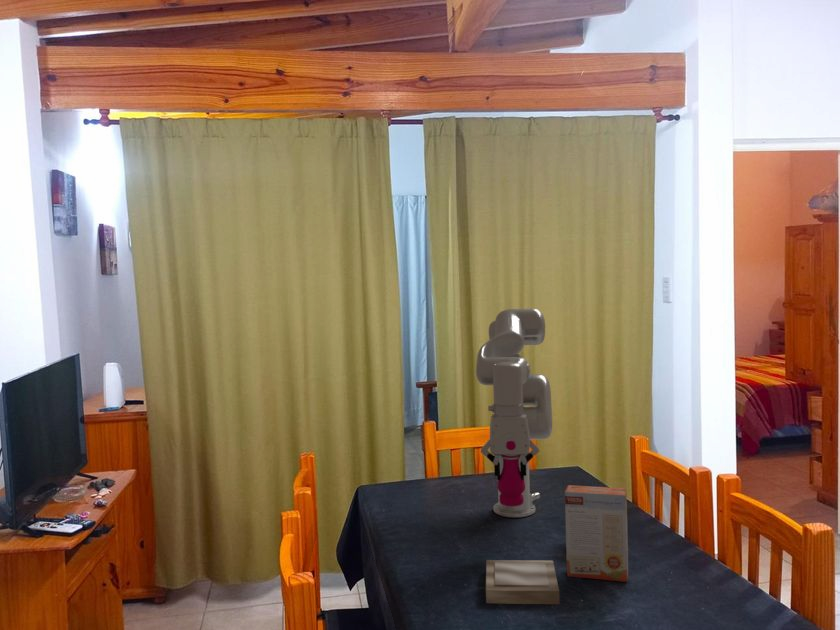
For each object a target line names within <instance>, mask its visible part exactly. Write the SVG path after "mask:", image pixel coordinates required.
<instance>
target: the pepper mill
mask: <svg viewBox="0 0 840 630" xmlns="http://www.w3.org/2000/svg"><path fill="white" fill-rule="evenodd" d="M506 444H507V445H506V447H507V449H509V450H514V449H515V448H516V444H515V442H514V441H508V442H507V443H506ZM501 457H502V458H503V470H502V473H501V475H500V480H497V485H496V486H497V491H498V490H499V491H500V492H501V494H500V496H499V500H500V503H501V504H502V505H505V506H519V505H522V504H523V502H524V496H523V495H522V493H523V492H524V490H525V481H524V480H522V479H521V472H520V469H519V458H520V455H501Z"/></svg>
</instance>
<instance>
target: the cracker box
mask: <svg viewBox="0 0 840 630" xmlns="http://www.w3.org/2000/svg"><path fill="white" fill-rule="evenodd" d="M627 497H628V496H627V488H623V487H609V486H608V487H606V486H589V485H587V486H586V485H573V484H572V485H571V484H570V485H569V484H568V485H567V487H566V489H565V492H564V504H565V505H564V508H565V509H564V510H565V513H564V514H565V516H564V518H565V549H566V555H565V556H566V576H567V577H571V578H572V577H574V578H581V579H593V580H600V581H601V580H605V581H611V582H612V581H614V582H620V583H621V582H623V583H626V582H628V578H629V544H628V543H629V542H628V541H629V540H628V539H629V538H628V537H629V535H628V505H627V504H628V503H627V501H628V500H627Z"/></svg>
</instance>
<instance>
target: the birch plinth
mask: <svg viewBox="0 0 840 630" xmlns="http://www.w3.org/2000/svg"><path fill="white" fill-rule="evenodd" d="M485 563H486V564H485V566H486V569H485V570H486V571H485V572H486V574H485V598H486V599H485V602H486V604H504V605H506V604H509V605H511V604H513V605H516V604H517V605H519V604H520V605H560V589H559V584H558V578H557V574H556V569H555V564H554V560H540V559H539V560H537V559H536V560H534V559H533V560H532V559H531V560H522V559H521V560H520V559H519V560H518V559H517V560H516V559H515V560H513V559H511V560H509V559H506V560H505V559H498V560H497V559H494V560H493V559H486V562H485Z"/></svg>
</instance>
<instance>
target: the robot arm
mask: <svg viewBox="0 0 840 630" xmlns="http://www.w3.org/2000/svg"><path fill="white" fill-rule="evenodd" d="M544 316H545V315H544V314H543V313H542V311H541V310H539V309H537V308H509V309H504V310H502V311H499V313H498V314H497V316H496V317H495V320H493V321H491V323H490V324H489V326H488V339H489V340H487V341H486V342H485V343H484V344H483V345H481V346H480V348H479V349H478V352H477V357H476V364H475V365H476V367H475V373H476V374H475V375H476V379H477V381H478V382H479V384H481V385H483V386H492V387H493V389H492V390H493V404H492V405H488V412H492V413H493V414H491V417H490V422H489V439H488V440H487V442H485V444H484V445H483V446H482V447H481V449H480V453H481V454H482V455H483V456H485V457H486V458H487V459H488V460H489V461H490V462H492V464H493V465H494V467H493V468H494V477H497V481H498V480H500V475H501V473H502V470H503V458H502V457H501V455H520V458H519V469H520V472H521V479H522V480H524V481H525V490H524V492H523V493H522V495H523V496H524V502H523V504H522V505H519V506H505V505H502V504H501V503H500V500H499V496H500V494H501V492H500V491H499V490H498V489H497V496H498V502H496V503H495V504H494V505H493V506H492V507H493V512H494V513H495V514H497V515H499V516H501V517H504V518H505V517H506V518H524V517H528V516H532V515H533V514H535V513H536V505H535V504H533V502H534V500H538V499H540V498H541V495H540V493H539V492H538V491H536V492H533V493H531V489H530V483H531V481H530V461H531V460H532V459H533V457H534V456H536V455H537V454H538V453H539V452H540V449H539V447H538V446H537V445H536V444H535V443H534V442H533V441H532V440H545V439H548V438H549V437H551V435H552V433H553V414H552V413H553V411H552V394H551V393H552V391H551V385H550V381H549V379H548V377H547V376H545V375H542V374H532V373H531V366H530V363H529V362H528V360H527V359H526V358H523V357H522V355H521V354H520V352H521V351H522V350H523V349H524V346H537V345H538V346H539V345H541V344H542V343H544V340H545V337H546V321H545V320H546V319H545V317H544ZM508 441H514V442H515V444H516V448H515V449H514V450H509V449H507V447H506V445H507V444H506V443H507V442H508ZM530 449H531V450H530Z"/></svg>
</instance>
